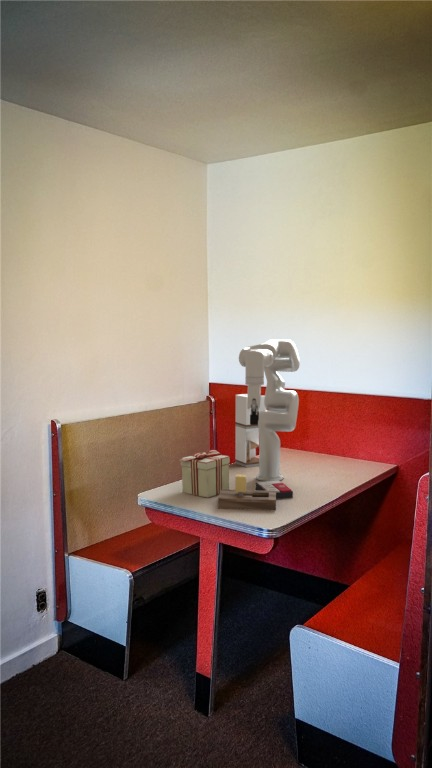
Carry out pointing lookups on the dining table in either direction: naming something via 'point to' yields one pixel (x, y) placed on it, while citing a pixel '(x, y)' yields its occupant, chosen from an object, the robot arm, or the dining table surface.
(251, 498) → the keyhole board
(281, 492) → the calculator
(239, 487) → the peg
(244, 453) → the white slotted tower
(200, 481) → the gift box
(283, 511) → the dining table surface
